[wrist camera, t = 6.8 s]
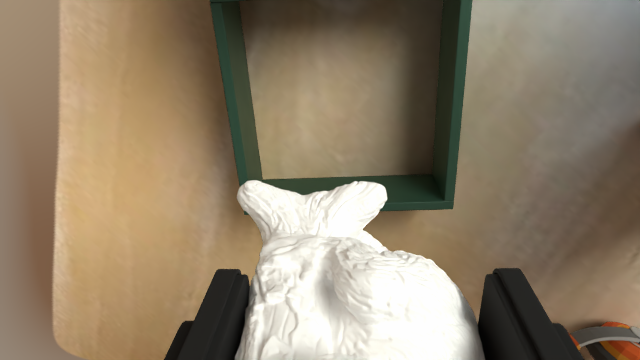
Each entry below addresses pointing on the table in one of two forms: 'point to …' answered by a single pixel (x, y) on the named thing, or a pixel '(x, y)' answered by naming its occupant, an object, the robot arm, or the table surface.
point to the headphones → (609, 341)
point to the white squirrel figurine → (345, 285)
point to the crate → (399, 188)
